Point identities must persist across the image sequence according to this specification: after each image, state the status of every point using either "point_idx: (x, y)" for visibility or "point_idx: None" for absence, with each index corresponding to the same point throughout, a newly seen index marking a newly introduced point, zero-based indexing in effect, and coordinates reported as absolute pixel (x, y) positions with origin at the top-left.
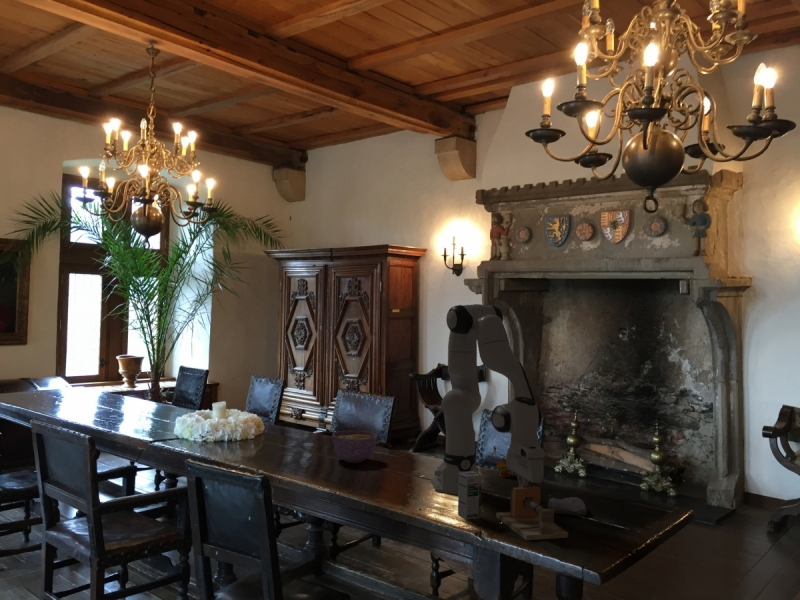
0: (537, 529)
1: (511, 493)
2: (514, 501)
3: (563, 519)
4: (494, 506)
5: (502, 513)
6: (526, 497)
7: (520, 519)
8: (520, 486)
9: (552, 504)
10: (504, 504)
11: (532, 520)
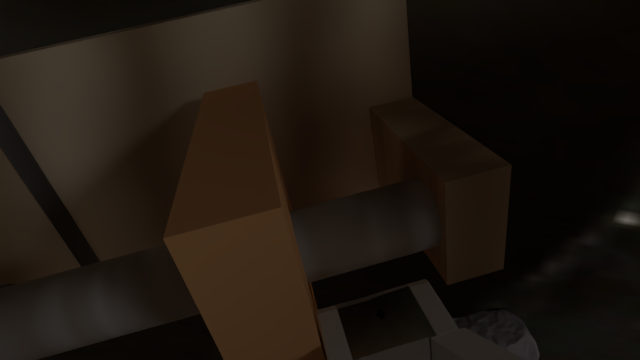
0: (10, 216)
1: (478, 159)
2: (204, 140)
3: None
4: (611, 20)
5: (376, 21)
6: None
7: None
8: (390, 312)
9: None
10: (620, 101)
11: None
